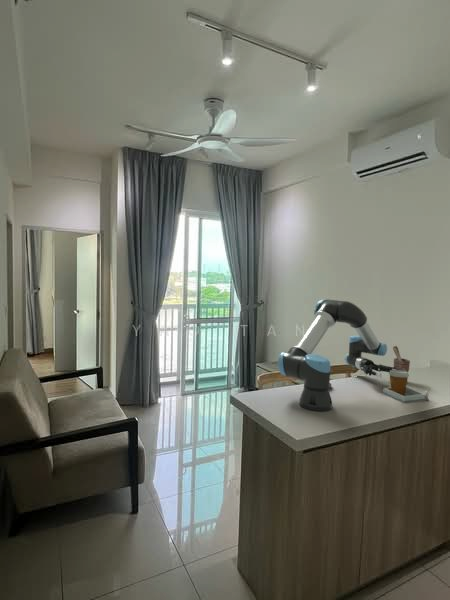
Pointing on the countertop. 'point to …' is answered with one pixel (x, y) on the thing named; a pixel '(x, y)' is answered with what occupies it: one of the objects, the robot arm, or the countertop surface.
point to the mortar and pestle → (400, 361)
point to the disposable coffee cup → (398, 381)
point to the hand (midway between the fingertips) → (391, 374)
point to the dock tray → (406, 395)
